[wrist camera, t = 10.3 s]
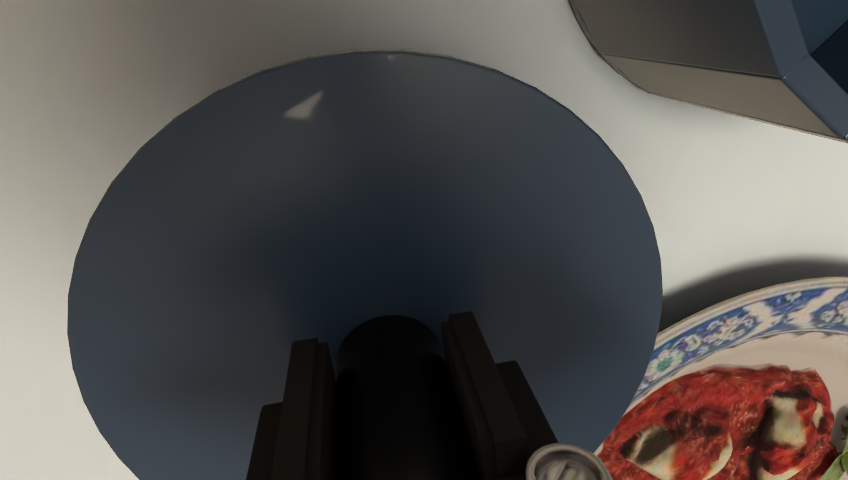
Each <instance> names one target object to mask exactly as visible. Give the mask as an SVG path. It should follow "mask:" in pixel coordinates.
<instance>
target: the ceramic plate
mask: <svg viewBox="0 0 848 480" xmlns="http://www.w3.org/2000/svg"><path fill="white" fill-rule="evenodd" d="M594 454H595V455H596V456H597V457H599V458H600V459H601V461H602V462H603V463H604V465H605V466H606V468H607V469H608V471H609V473H610V475H611V477H612V479H613V480H848V277H822V278H812V279H802V280H797V281H792V282H787V283H782V284H777V285H772V286H769V287H765V288H762V289H758V290H754V291H751V292H747V293H744V294H741V295H739V296H736V297H733V298H731V299H728V300H725V301H722V302H720V303H717V304H715V305H713V306H710V307H708V308H706V309H704V310H702V311H699V312H697V313H695V314H693V315H691V316H688V317H687V318H685V319H683V320H681V321H679V322H677V323H675V324H674V325H672V326H670V327H668V328H666V329H664V330H663V331H661V332H659V333H658V334H657V338H656V342H655V347H654V351H653V354H652V356H651V359H650V362H649V365H648V367H647V370H646V373H645V376H644V378H643V381H642V383H641V385H640V386H639V388H638V390H637V392H636V394H635V396H634V398H633V400H632V402H631V404H630V406H629V407H628V409H627V410H626V412H625V413H624V415H623V416H622V418H621V419H620V421H619V422H618V424H617V425H616V427H615V428H614V430H613V431H612V432H611V434H610V435H609V436H608V437H607V438H606V440H605V441H604V442H603V443H602V444H601V445H600V447H599V448H598V449H597V450H596V451H595V453H594Z"/></svg>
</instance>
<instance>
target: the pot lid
mask: <svg viewBox="0 0 848 480" xmlns="http://www.w3.org/2000/svg"><path fill="white" fill-rule="evenodd" d="M662 291H663V290H662V275H661V260H660V255H659V250H658V246H657V241H656V237H655V232H654V228H653V225H652V222H651V220H650V217H649V215H648V212H647V209H646V207H645V204H644V202H643V199H642V197H641V194H640V193H639V191H638V189H637V188H636V186H635V184H634V183H633V181H632V179H631V177H630V176H629V174H628V172H627V171H626V169H625V167H624V165H623V164H622V163H621V162H620V160H619V159H618V158H617V157H616V156H615V154H614V153H613V152H612V151H611V149H610V148H609V147H608V146H607V145H606V143H605V142H604V141H603V140H602V138H601V137H600V136H599V135H598V134H597V133H596V132H594V131H593V130H592V129H591V128H590V127H589V126H588V125H586V124H585V123H584V122H583V121H582V120H581V119H580V118H579V117H577V116H576V115H575V114H574V113H573V112H572V111H571V110H569V109H568V108H566V107H565V106H563V105H562V104H560V103H559V102H557V101H555V100H554V99H552V98H551V97H549V96H548V95H546V94H545V93H543V92H542V91H540V90H538V89H537V88H535V87H533V86H531V85H529V84H526V83H524V82H522V81H520V80H518V79H515V78H513V77H511V76H509V75H506V74H504V73H502V72H500V71H498V70H495V69H492V68H489V67H485V66H482V65H478V64H475V63H471V62H468V61H464V60H461V59H457V58H454V57H450V56H446V55H439V54H431V53H424V52H417V51H410V50H350V51H343V52H336V53H329V54H322V55H315V56H309V57H305V58H302V59H298V60H295V61H291V62H288V63H285V64H281V65H278V66H274V67H271V68H267V69H264V70H261V71H259V72H257V73H255V74H253V75H250V76H248V77H246V78H244V79H241V80H239V81H237V82H235V83H233V84H230V85H228V86H226V87H224V88H222V89H220V90H218V91H216V92H214V93H213V94H211V95H210V96H208V97H206V98H205V99H203V100H202V101H200V102H199V103H197V104H196V105H194V106H192V107H191V108H189V109H188V110H186V111H185V112H183V113H181V114H180V115H178V116H177V117H175V118H174V119H173V120H172V121H171V122H169V123H168V124H167V125H166V126H165V127H164V128H163V129H161V130H160V131H159V132H158V133H157V134H156V135H155V136H153V137H152V138H151V139H150V140H149V141H148V142H147V143H146V144H144V145H143V146H142V147H141V148H140V149H139V150H138V151H137V153H136V154H135V155H134V156H133V157H132V159H131V160H130V161H129V162H128V163H127V165H126V166H125V167H124V168H123V169H122V171H121V172H120V173H119V174H118V175H117V177H116V178H115V179H114V180H113V181H112V183H111V184H110V186H109V188H108V189H107V191H106V193H105V194H104V196H103V198H102V200H101V201H100V203H99V205H98V206H97V208H96V210H95V211H94V213H93V215H92V217H91V218H90V220H89V223H88V226H87V228H86V231H85V234H84V236H83V239H82V241H81V244H80V247H79V249H78V252H77V255H76V258H75V263H74V268H73V273H72V278H71V283H70V288H69V294H68V340H69V346H70V353H71V359H72V366H73V370H74V373H75V376H76V379H77V382H78V385H79V388H80V391H81V394H82V397H83V400H84V403H85V405H86V407H87V408H88V410H89V412H90V414H91V416H92V418H93V420H94V422H95V424H96V426H97V428H98V430H99V432H100V433H101V434H102V436H103V437H104V438H105V440H106V441H107V443H108V444H109V445H110V447H111V448H112V449H113V451H114V452H115V454H116V455H117V456H118V458H119V459H120V460H121V461H122V462H123V463H124V464H125V465H126V466H127V467H128V468H129V469H130V470H131V471H132V472H133V473H134V474H135V475H136V477H137V478H138V479H139V480H246V477H247V472H248V468H249V463H250V458H251V454H252V449H253V444H254V439H255V435H256V430H257V425H258V421H259V416H260V412H261V409H262V407H263V406H264V405H268V404H273V403H279V402H283V397H284V390H285V384H286V378H287V372H288V365H289V359H290V353H291V346H292V342H293V341H298V340H304V339H310V338H316V337H317V338H318V341H319V343H324V342H327V343H328V347H329V351H330V356H331V360H332V365H333V369H334V374H335V378H336V418H335V468H334V480H480V478H479V475H478V472H477V468H476V465H475V461H474V458H473V455H472V451H471V448H470V445H469V441H468V438H467V434H466V431H465V428H464V424H463V421H462V418H461V414H460V411H459V408H458V404H457V401H456V397H455V394H454V391H453V387H452V384H451V381H450V377H449V374H448V370H447V367H446V364H445V357H444V348H443V338H442V329H441V322H447V321H449V315H451V314H457V313H463V312H469V311H472V312H473V314H474V317H475V319H476V321H477V323H478V326H479V328H480V330H481V332H482V335H483V337H484V339H485V341H486V344H487V346H488V348H489V351H490V353H491V355H492V357H493V360H494V362H495V363H501V362H507V361H512V360H515V361H517V363H518V364H519V366H520V368H521V370H522V372H523V374H524V376H525V378H526V380H527V382H528V384H529V385H530V387H531V389H532V391H533V393H534V395H535V397H536V399H537V401H538V403H539V405H540V407H541V409H542V411H543V413H544V415H545V417H546V419H547V421H548V423H549V425H550V427H551V429H552V431H553V433H554V435H555V437H556V439H557V441H558V443H569V444H574V445H578V446H581V447H583V448H585V449H587V450H589V451H591V452H592V453H595V451H596V450H597V449H598V448H599V447H600V445H601V444H602V443H603V442H604V441H605V440H606V438H607V437H608V436H609V435H610V434H611V432H612V431H613V430H614V428H615V427H616V425H617V424H618V422H619V421H620V419H621V418H622V416H623V415H624V413H625V412H626V410H627V409H628V407H629V406H630V404H631V402H632V400H633V398H634V396H635V394H636V392H637V390H638V388H639V386H640V385H641V383H642V381H643V378H644V376H645V373H646V370H647V367H648V365H649V362H650V359H651V356H652V354H653V351H654V347H655V342H656V338H657V333H658V329H659V324H660V316H661V304H662Z"/></svg>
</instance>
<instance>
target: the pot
mask: <svg viewBox="0 0 848 480" xmlns="http://www.w3.org/2000/svg"><path fill="white" fill-rule="evenodd" d="M569 1H570V4H571V6H572V9H573V11H574V14H575V16H576V18H577V20H578V22H579V24H580V25H581V27H582V29H583V31H584V33H585V35H586V36H587V38H588V39H589V41H590V42H591V43H592V45H593V46H594V47H595V49H596V50H597V51H598V53H599V54H600V55H601V57H602V58H603V59H604V60H605V61H606V62H607V63H608V64H609V65H610V66H612V67H613V68H614V69H615V70H616V71H617V72H618V73H619V74H621V75H622V76H623V77H625V78H626V79H628V80H629V81H631V82H632V83H633V84H635V85H637V86H639V87H641V88H642V89H644V90H645V91H647V92H648V93H651V94H655V95H658V96H662V97H666V98H670V99H673V100H677V101H681V102H684V103H688V104H692V105H696V106H699V107H703V108H707V109H711V110H715V111H719V112H723V113H727V114H732V115H736V116H740V117H744V118H748V119H752V120H756V121H760V122H764V123H768V124H772V125H776V126H780V127H784V128H788V129H792V130H796V131H800V132H804V133H808V134H812V135H816V136H820V137H824V138H828V139H832V140H837V141H841V142H845V143H848V0H569Z"/></svg>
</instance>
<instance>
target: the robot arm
mask: <svg viewBox="0 0 848 480" xmlns="http://www.w3.org/2000/svg"><path fill="white" fill-rule="evenodd" d="M441 329H442V338H443V348H444V357H445V364H446V367H447V370H448V374H449V377H450V381H451V384H452V387H453V391H454V394H455V397H456V401H457V404H458V408H459V411H460V414H461V418H462V421H463V424H464V428H465V431H466V434H467V438H468V441H469V445H470V448H471V451H472V455H473V458H474V461H475V465H476V468H477V472H478V475H479V478H480V480H613V479H612V477H611V475H610V473H609V471H608V469H607V468H606V466H605V465H604V463H603V462H602V461H601V459H600V458H599V457H597V456H596V455H595V454H594V453H592V452H591V451H589V450H587V449H585V448H583V447H581V446H578V445H574V444H569V443H558V441H557V439H556V437H555V435H554V433H553V431H552V429H551V427H550V425H549V423H548V421H547V419H546V417H545V415H544V413H543V411H542V409H541V407H540V405H539V403H538V401H537V399H536V397H535V395H534V393H533V391H532V389H531V387H530V385H529V384H528V382H527V380H526V378H525V376H524V374H523V372H522V370H521V368H520V366H519V364H518V363H517V361H515V360H512V361H507V362H501V363H495V362H494V360H493V357H492V355H491V353H490V351H489V348H488V346H487V344H486V341H485V339H484V337H483V335H482V332H481V330H480V328H479V326H478V323H477V321H476V319H475V317H474V314H473V312H472V311H469V312H463V313H457V314H451V315H449V321H447V322H441ZM335 418H336V378H335V374H334V369H333V365H332V360H331V356H330V351H329V347H328V343H327V342H324V343H319V341H318V338H317V337H316V338H310V339H304V340H298V341H293V342H292V346H291V353H290V359H289V365H288V372H287V378H286V384H285V390H284V397H283V402H279V403H273V404H268V405H264V406H263V407H262V409H261V412H260V416H259V421H258V425H257V430H256V435H255V439H254V444H253V449H252V454H251V458H250V463H249V468H248V472H247V477H246V480H334V468H335Z"/></svg>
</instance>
